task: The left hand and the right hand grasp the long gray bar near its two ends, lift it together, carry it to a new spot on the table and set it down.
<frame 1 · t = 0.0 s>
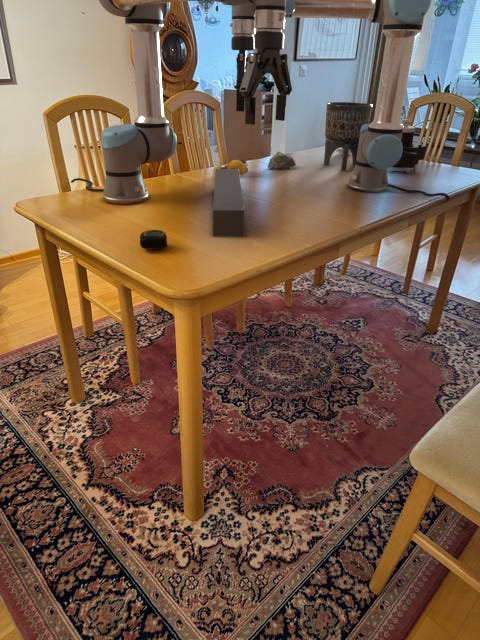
left hand: (265, 122, 125), 28 cm above the table, tool pointing down, fingers open, 13 cm apart
right hand: (241, 109, 155), 28 cm above the table, tool pointing down, fingers open, 13 cm apart
figurine: (344, 154, 238), on the table
tape measure: (155, 248, 118), on the table
planter: (341, 167, 211), on the table
toy: (236, 174, 194), on the table
rock: (282, 168, 205), on the table
mechanical component: (401, 168, 210), on the table
long gray bar: (227, 209, 149), on the table
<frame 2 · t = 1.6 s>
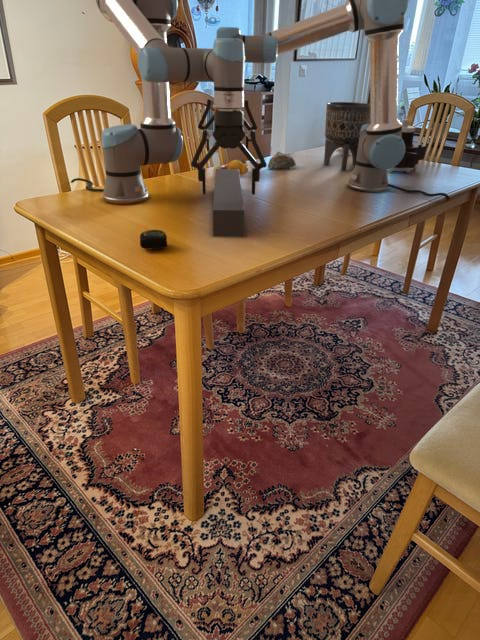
left hand: (228, 193, 126), 11 cm above the table, tool pointing down, fingers open, 13 cm apart
right hand: (227, 151, 159), 15 cm above the table, tool pointing down, fingers open, 13 cm apart
nothing on the table moved.
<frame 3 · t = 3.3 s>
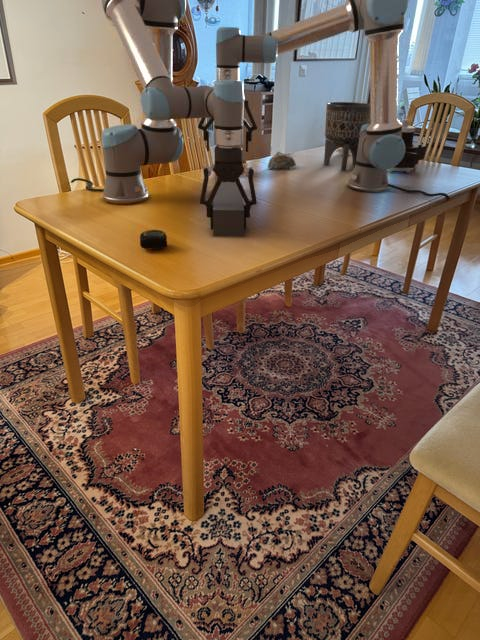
left hand: (228, 228, 131), 0 cm above the table, tool pointing down, fingers closed on long gray bar, 9 cm apart
right hand: (227, 151, 159), 15 cm above the table, tool pointing down, fingers open, 13 cm apart
long gray bar: (227, 209, 149), on the table, touching left hand
everything else where it was.
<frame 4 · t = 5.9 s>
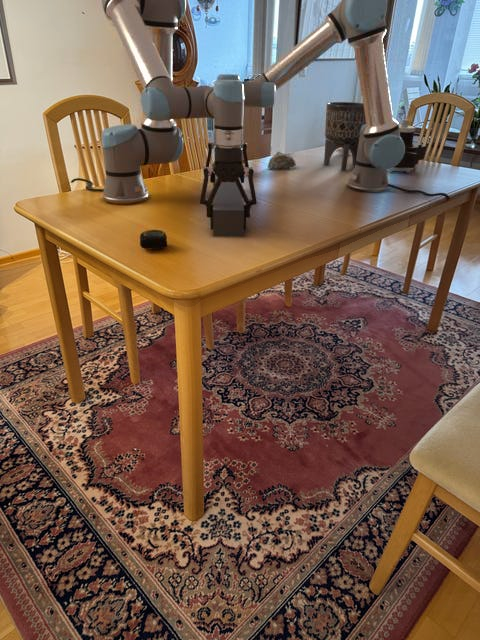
left hand: (228, 228, 131), 0 cm above the table, tool pointing down, fingers closed on long gray bar, 9 cm apart
right hand: (227, 191, 167), 0 cm above the table, tool pointing down, fingers closed on long gray bar, 9 cm apart
long gray bar: (227, 209, 149), on the table, touching right hand, left hand
everything else where it was.
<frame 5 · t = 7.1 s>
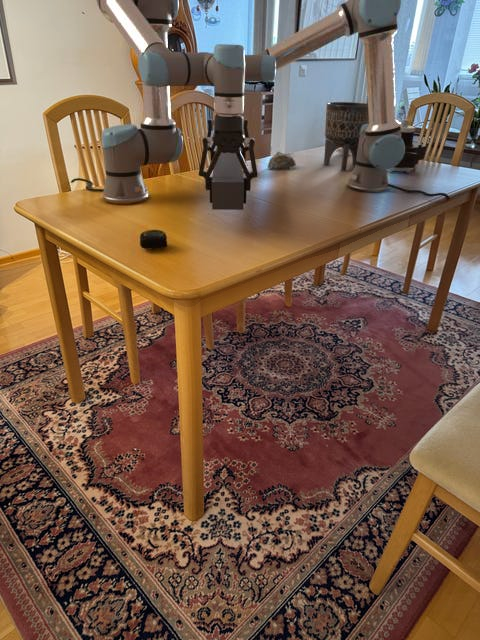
left hand: (227, 201, 128), 8 cm above the table, tool pointing down, fingers closed on long gray bar, 9 cm apart
right hand: (228, 170, 163), 8 cm above the table, tool pointing down, fingers closed on long gray bar, 9 cm apart
long gray bar: (228, 186, 146), point 7 cm above the table, touching right hand, left hand
everything else where it was.
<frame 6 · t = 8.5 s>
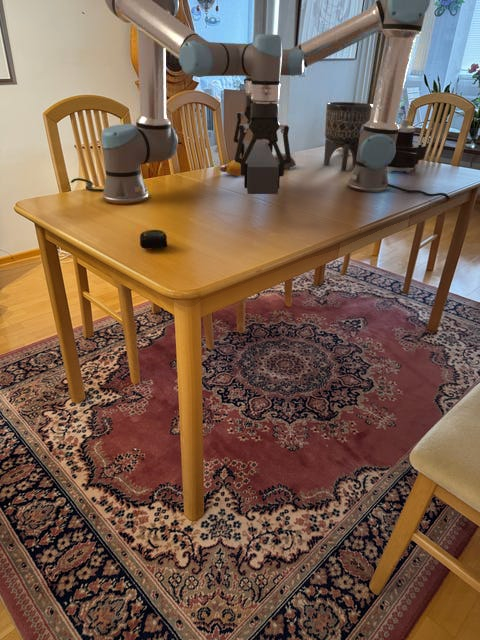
left hand: (261, 187, 133), 11 cm above the table, tool pointing down, fingers closed on long gray bar, 9 cm apart
right hand: (255, 162, 169), 10 cm above the table, tool pointing down, fingers closed on long gray bar, 9 cm apart
long gray bar: (257, 175, 151), point 10 cm above the table, touching right hand, left hand
everything else where it was.
when the left hand's fingers open (1 cm above the table, at t = 11.1 s): long gray bar stays where it is, on the table.
when the right hand's fingers open (2 cm above the table, at t = 11.1 s): long gray bar stays where it is, on the table.
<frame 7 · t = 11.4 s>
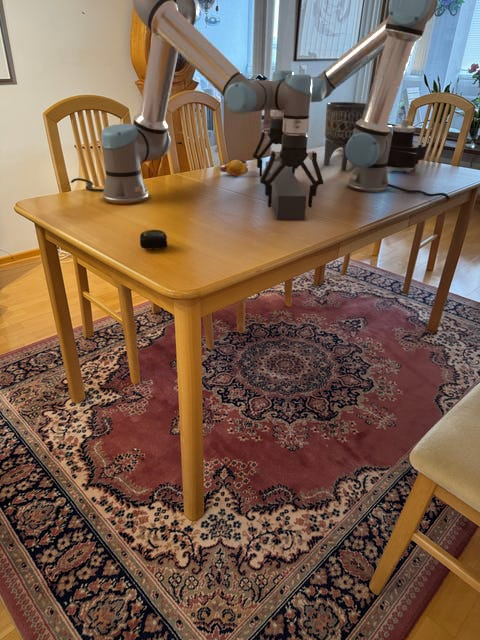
left hand: (289, 206, 144), 3 cm above the table, tool pointing down, fingers open, 12 cm apart
right hand: (276, 176, 179), 3 cm above the table, tool pointing down, fingers open, 12 cm apart
long gray bar: (281, 197, 163), on the table
everything else where it was.
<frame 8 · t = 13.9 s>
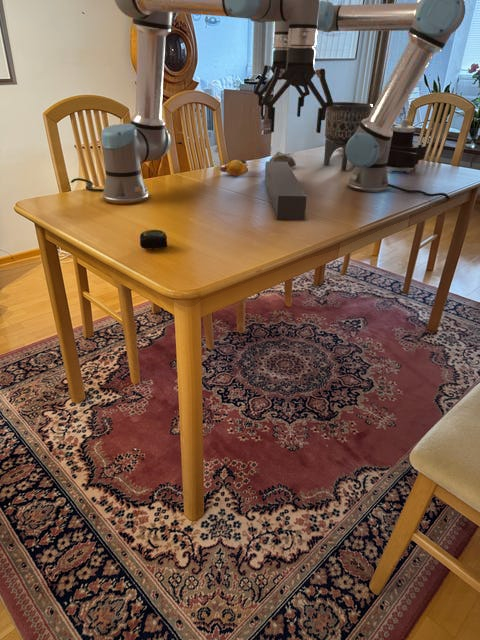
left hand: (295, 132, 133), 25 cm above the table, tool pointing down, fingers open, 13 cm apart
right hand: (280, 116, 168), 25 cm above the table, tool pointing down, fingers open, 13 cm apart
nothing on the table moved.
at the end: long gray bar inside the target area (0.0 cm from its centre), on the table; long gray bar tilted 0°; long gray bar never tilted more than 2° during the clip; both hands held the long gray bar at the same time; the left hand is holding nothing; the right hand is holding nothing; long gray bar at rest at the end (0.0 cm/s) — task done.
